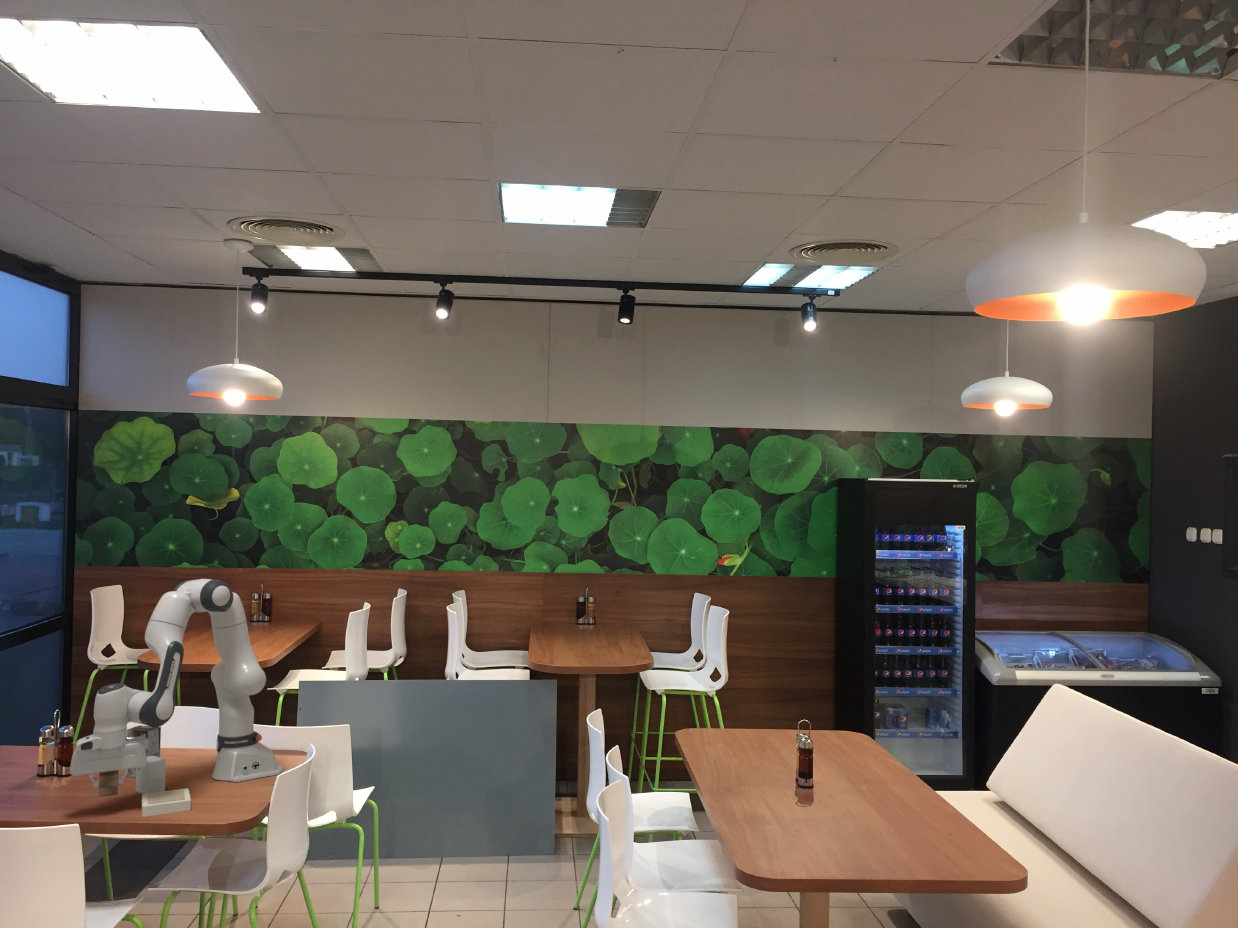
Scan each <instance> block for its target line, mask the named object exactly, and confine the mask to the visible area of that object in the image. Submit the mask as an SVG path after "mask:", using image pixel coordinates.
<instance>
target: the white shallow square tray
mask: <svg viewBox="0 0 1238 928" xmlns="http://www.w3.org/2000/svg"><path fill="white" fill-rule="evenodd" d="M191 801H192V800H191V794H190V790H189V788H181V789H173V790H168V791H167V790H165V791H164V792H156V793H148V794H142V793H141V817H142V818H144V817H145V818H147V817H151V816H160V815H166V814H172V813H173V814H175V813H180V812H181V813H182V812H188V811H191V804H192V802H191Z"/></svg>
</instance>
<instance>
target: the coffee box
mask: <svg viewBox="0 0 1238 928" xmlns="http://www.w3.org/2000/svg"><path fill="white" fill-rule="evenodd" d="M161 727H162V726H160V727H150V726H147V725H142V724H140V725H136V726H133V727H131V728H127V737H138V736H143V737H146V738H147V739H148V740H149V746H148V748H147V749H146V754H147V757H148V756H157V757H160V758H161V740H162V738H161V736H162V728H161ZM143 739H145V738H143ZM125 777H126V778H127V777H128V778H129V777H130V778H136V768H131V769H128V773H127V775H126V776H125Z"/></svg>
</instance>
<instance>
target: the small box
mask: <svg viewBox="0 0 1238 928" xmlns="http://www.w3.org/2000/svg"><path fill="white" fill-rule="evenodd" d="M166 763H167V761H166V758H164V757H161V756H160V757H157V756H148V757H147V764H146V765H145V766H144V767H139V768H136V777H135V792H136V793H139V794H141V795H142V794H148V793H156V792H164V791H166Z"/></svg>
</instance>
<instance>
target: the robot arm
mask: <svg viewBox="0 0 1238 928" xmlns="http://www.w3.org/2000/svg"><path fill="white" fill-rule="evenodd" d="M205 612H208V614H209V616H210V622H211V630H212V635H213V641H214V647H215V651H216V652H217V654H218V655H219V656H220V658H221V659H220V661H219V662H217V663H216V664H215V665H214V666H213V667H212V668H211V674H210V679H211V681H212V684H213V686H214V689H215V692H216V699H217V704H218V712H219V717H218V718H219V719H218V721H219V723H218V734H217V739H216V751H217V754H216V761H215V765H214V769H213V772H212V775H211V778H213V779H214V780H217V781H227V782H232V783H239V782H244V781H250V780H255V779H261V778H266V777H272V776H278V775H280V774H281V773H282V772H283V766H282V765H281V764H280V763H278V762H277V759H276V755H275V753H274V751H273V750H272V749H271V748H269V747H267V746H265V744H262V743H261V742H260V741H262V739H263V735H261V734H260V733H259V732H258V731H255V730H254V722H255V719H254V717H255V708H254V706H253V704H252V702H251V698H250V696H254V695H257V694H258V693H260V692H261V691H262V690H263V689H264V688H265V686H266V683H267V676H266V672H265V671H264V669H262V667H261V665H260V664H259V661H258V658H257V656H256V654H255V651H254V649H253V646H252V643H251V640H250V634H249V629H248V628H249V627H248V623H247V617H246V616H247V615H246V612H245V609H244V605H243V602H242V600H241V598H240V596H239V594H237V593H236V592H233V590H232V588H231V587H230V585H229V584H228V583H227V582H225V581H223V580H220V579H211V578H200V579H187V580H184V581H181V582H180V583H178V584H177V585H176V586H175V587H174V589H173V591H172V590H171V591H167V592H165V593H164V594H163V595H161V597H160V599H159V601H158V602H157V604H156V605H155V608H154V609H153V611H152V614H151V616H150V618H149V620H148V622H147V626H146V629H145V632H144V642H145V644H146V645H147V647H148V648H149V650H150V651H152V652H153V653H154V654H155V655H156V656H157V658H158V660H159V662H160V665H159V666H160V667H159V671H158V675H157V679H156V683H155V687H154V689H153V690H152V692H151V691H145V690H139V689H136V688H135V689H134V688H131V687H129V686H127V685H126V684H124V683H112V684H111V683H110V684H108V685H104V686H102V687H101V688H99V689H98V690H97V693H96V695H95V699H94V707H93V719H94V727H93V731H92V732H93V733H92V734H90V735H87V736H84V737H82V738H79V739H78V740H76V742H75V750H74V751H73V753H72V755H71V756H72V757H71V761H70V766H69V767H70V768H69V775H71V776H73V777H75V776H76V777H77V776H83V775H84V776H85V775H89V778H90V780H91V782H92V784H93V789H97V788H98V789H99V779H96V778H95V776H96V774H97V773H99V774H100V772H107V771H115V770H119V771H122V773H123V774H122V775H121V777H120V776H118V786H119V785H124V783H125V782H124V781H125V778H126V777H127V776H126V775H127V773H128V769H131V768H139V767H144V766H145V765H146V764H147V754H146V749H147V748H148V746H149V740H148V739H147V738H146V737H143V736H138V737H127V730H128V726H127V725H128V723H134V724H140V725H143V726H150V727H162V726H164V725H165V724H166V723H167V722H168V721H170V719H171V718H172V716H173V714H174V712H175V708H176V693H177V690H178V689H177V688H178V684H179V679H180V676H181V672H182V667H183V662H184V656H185V650H184V645H183V641H184V640H183V639H184V635H185V631H186V629H187V626H188V623H189V619H190V617H191V616H192V614H193V613H205ZM143 738H145V739H143Z"/></svg>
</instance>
